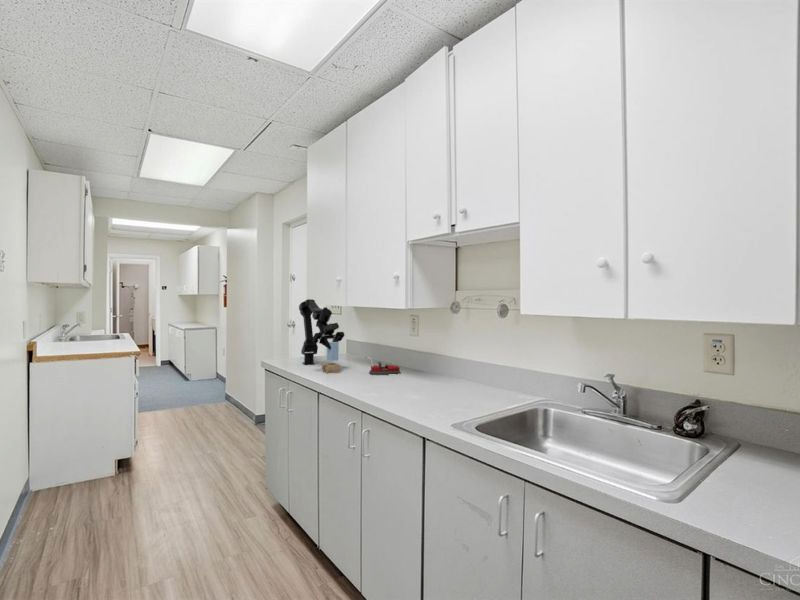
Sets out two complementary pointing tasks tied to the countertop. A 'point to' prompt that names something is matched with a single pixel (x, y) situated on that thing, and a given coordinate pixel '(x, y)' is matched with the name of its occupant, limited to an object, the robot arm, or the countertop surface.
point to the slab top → (330, 366)
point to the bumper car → (383, 369)
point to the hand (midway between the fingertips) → (334, 348)
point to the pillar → (333, 351)
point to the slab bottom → (331, 371)
